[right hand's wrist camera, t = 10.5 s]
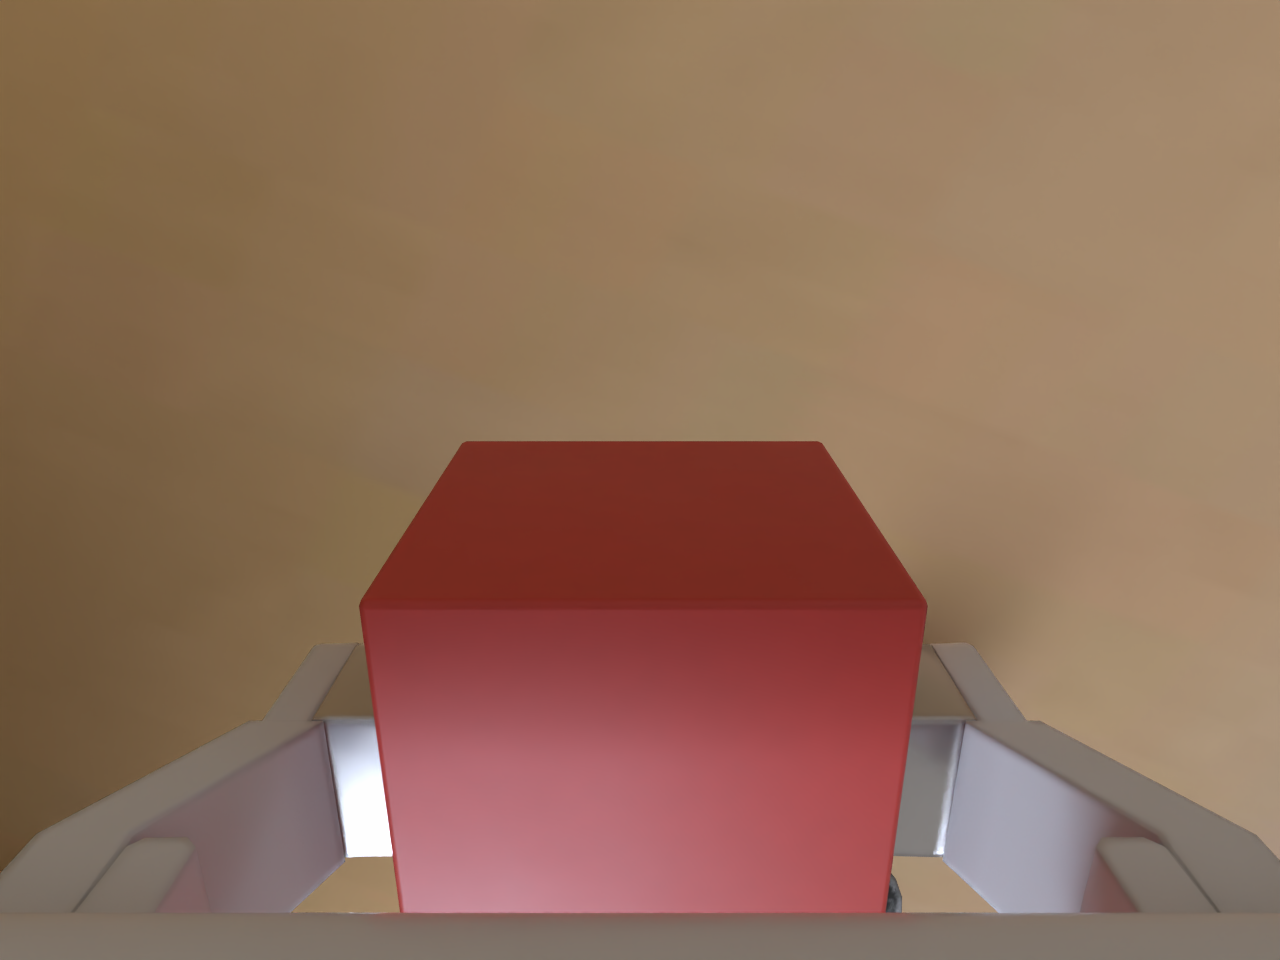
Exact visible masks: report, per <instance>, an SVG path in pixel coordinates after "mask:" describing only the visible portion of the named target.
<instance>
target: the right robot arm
mask: <svg viewBox="0 0 1280 960" xmlns="http://www.w3.org/2000/svg"><path fill="white" fill-rule="evenodd" d="M370 856H393V855H392V847H391V840H390V833H389V825H388V818H387V810H386V803H385V795H384V788H383V780H382V773H381V765H380V758H379V750H378V743H377V736H376V728H375V721H374V713H373V706H372V698H371V691H370V683H369V676H368V668H367V661H366V653H365V646H364V643H362V644H359V643H321V644H318V645H315V646H314V647H313V648H312V649H311V650H310V652H309V653H308V655H307V656H306V658H305V659H304V660H303V662H302V663H301V665H300V666H299V668H298V669H297V671H296V672H295V673H294V675H293V676H292V678H291V679H290V681H289V682H288V684H287V685H286V686H285V688H284V689H283V691H282V692H281V694H280V695H279V697H278V698H277V699H276V701H275V702H274V704H273V705H272V707H271V708H270V710H269V711H268V712H267V714H266V715H265V717H264V718H263V720H262V721H248V722H246V723H244V724H242V725H240V726H238V727H236V728H234V729H233V730H231V731H229V732H227V733H225V734H223V735H221V736H219V737H218V738H216V739H214V740H212V741H210V742H208V743H206V744H204V745H202V746H201V747H199V748H197V749H195V750H193V751H191V752H189V753H187V754H185V755H184V756H182V757H180V758H178V759H176V760H174V761H172V762H170V763H169V764H167V765H165V766H163V767H161V768H159V769H157V770H155V771H153V772H152V773H150V774H148V775H146V776H144V777H142V778H140V779H138V780H137V781H135V782H133V783H131V784H129V785H127V786H125V787H123V788H121V789H120V790H118V791H116V792H114V793H112V794H110V795H108V796H106V797H104V798H103V799H101V800H99V801H97V802H95V803H93V804H91V805H89V806H88V807H86V808H84V809H82V810H80V811H78V812H76V813H74V814H72V815H71V816H69V817H67V818H65V819H63V820H61V821H59V822H57V823H55V824H54V825H52V826H50V827H48V828H46V829H44V830H42V831H40V832H39V833H37V834H36V835H35V836H34V837H33V838H32V839H31V840H30V841H29V842H28V843H27V844H26V845H25V847H24V848H23V849H22V850H21V851H20V852H19V853H18V854H17V855H16V856H15V858H14V859H13V860H12V861H11V862H10V863H9V864H8V865H7V866H6V867H5V868H4V870H3V871H2V872H1V873H0V960H1280V860H1279V859H1278V858H1277V857H1276V856H1275V855H1274V854H1273V853H1272V851H1271V850H1270V849H1269V848H1268V847H1267V846H1266V845H1265V844H1264V843H1263V842H1262V841H1261V840H1260V839H1259V837H1258V836H1257V835H1255V834H1253V833H1252V832H1250V831H1248V830H1246V829H1244V828H1242V827H1240V826H1238V825H1236V824H1234V823H1233V822H1231V821H1229V820H1227V819H1225V818H1223V817H1221V816H1219V815H1217V814H1215V813H1214V812H1212V811H1210V810H1208V809H1206V808H1204V807H1202V806H1200V805H1198V804H1197V803H1195V802H1193V801H1191V800H1189V799H1187V798H1185V797H1183V796H1181V795H1179V794H1178V793H1176V792H1174V791H1172V790H1170V789H1168V788H1166V787H1164V786H1162V785H1161V784H1159V783H1157V782H1155V781H1153V780H1151V779H1149V778H1147V777H1145V776H1143V775H1142V774H1140V773H1138V772H1136V771H1134V770H1132V769H1130V768H1128V767H1126V766H1124V765H1123V764H1121V763H1119V762H1117V761H1115V760H1113V759H1111V758H1109V757H1107V756H1106V755H1104V754H1102V753H1100V752H1098V751H1096V750H1094V749H1092V748H1090V747H1088V746H1087V745H1085V744H1083V743H1081V742H1079V741H1077V740H1075V739H1073V738H1071V737H1069V736H1068V735H1066V734H1064V733H1062V732H1060V731H1058V730H1056V729H1054V728H1052V727H1051V726H1049V725H1047V724H1045V723H1043V722H1041V721H1027V720H1026V719H1025V717H1024V716H1023V715H1022V713H1021V712H1020V710H1019V709H1018V708H1017V706H1016V705H1015V703H1014V702H1013V701H1012V699H1011V698H1010V696H1009V695H1008V694H1007V692H1006V691H1005V689H1004V688H1003V687H1002V685H1001V684H1000V682H999V681H998V680H997V678H996V677H995V675H994V674H993V673H992V671H991V670H990V668H989V667H988V666H987V664H986V663H985V661H984V660H983V659H982V657H981V656H980V654H979V653H978V652H977V650H976V649H975V648H974V646H972V645H970V644H968V643H966V642H964V643H939V644H922V650H921V658H920V665H919V672H918V679H917V687H916V694H915V701H914V709H913V716H912V723H911V730H910V738H909V745H908V752H907V760H906V767H905V774H904V781H903V789H902V796H901V803H900V811H899V818H898V825H897V832H896V840H895V847H894V854H893V856H917V857H943V861H944V862H945V863H946V864H947V865H948V866H949V867H950V868H951V869H952V870H953V871H954V872H955V873H957V874H958V875H959V876H960V877H961V878H962V879H963V880H964V881H965V882H966V883H967V884H968V885H969V886H971V887H972V888H973V889H974V890H975V891H976V892H977V893H978V894H979V895H980V896H981V897H982V898H983V899H985V900H986V901H987V902H988V903H989V904H990V905H991V906H992V907H993V908H994V909H995V910H996V911H997V912H999V913H290V912H291V911H293V910H294V909H295V908H296V907H297V906H298V905H299V904H300V903H301V902H302V901H303V900H304V899H305V898H306V897H308V896H309V895H310V894H311V893H312V892H313V891H314V890H315V889H316V888H317V887H318V886H319V885H320V884H321V883H323V882H324V881H325V880H326V879H327V878H328V877H329V876H330V875H331V874H332V873H333V872H334V871H335V870H336V869H338V868H339V867H340V866H341V865H342V864H343V863H344V862H345V857H370Z"/></svg>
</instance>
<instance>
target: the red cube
mask: <svg viewBox="0 0 1280 960" xmlns="http://www.w3.org/2000/svg"><path fill="white" fill-rule="evenodd" d="M927 607H928V606H927V603H926V600H925V598H924V597H923V595H922V594H921V592H920V591H919V589H918V588H917V586H916V585H915V583H914V582H913V580H912V579H911V577H910V576H909V574H908V573H907V571H906V570H905V568H904V567H903V565H902V564H901V562H900V561H899V559H898V558H897V556H896V555H895V553H894V552H893V550H892V548H891V547H890V545H889V544H888V542H887V541H886V539H885V538H884V536H883V535H882V533H881V532H880V530H879V529H878V527H877V526H876V524H875V523H874V521H873V520H872V518H871V517H870V515H869V514H868V512H867V511H866V509H865V508H864V506H863V505H862V503H861V502H860V500H859V499H858V497H857V495H856V494H855V492H854V491H853V489H852V488H851V486H850V485H849V483H848V482H847V480H846V479H845V477H844V476H843V474H842V473H841V471H840V470H839V468H838V467H837V465H836V464H835V462H834V461H833V459H832V458H831V456H830V455H829V453H828V452H827V450H826V449H825V447H824V446H823V444H822V443H820V442H818V441H466V442H464V443H462V444H461V446H460V448H459V449H458V451H457V452H456V454H455V455H454V457H453V458H452V460H451V462H450V463H449V465H448V466H447V468H446V469H445V471H444V472H443V474H442V475H441V477H440V479H439V480H438V482H437V483H436V485H435V486H434V488H433V489H432V491H431V493H430V494H429V496H428V497H427V499H426V500H425V502H424V503H423V505H422V507H421V508H420V510H419V511H418V513H417V514H416V516H415V517H414V519H413V520H412V522H411V524H410V525H409V527H408V528H407V530H406V531H405V533H404V534H403V536H402V538H401V539H400V541H399V542H398V544H397V545H396V547H395V548H394V550H393V551H392V553H391V555H390V556H389V558H388V559H387V561H386V562H385V564H384V565H383V567H382V569H381V570H380V572H379V573H378V575H377V576H376V578H375V579H374V581H373V582H372V584H371V586H370V587H369V589H368V590H367V592H366V593H365V595H364V596H363V598H362V600H361V602H360V605H359V609H360V616H361V624H362V631H363V639H364V646H365V653H366V661H367V668H368V676H369V683H370V691H371V698H372V706H373V713H374V721H375V728H376V736H377V743H378V750H379V758H380V765H381V773H382V780H383V788H384V795H385V803H386V810H387V818H388V825H389V833H390V840H391V847H392V855H393V862H394V870H395V877H396V885H397V892H398V900H399V907H400V913H886V905H887V898H888V891H889V883H890V876H891V869H892V862H893V854H894V847H895V840H896V832H897V825H898V818H899V811H900V803H901V796H902V789H903V781H904V774H905V767H906V760H907V752H908V745H909V738H910V730H911V723H912V716H913V709H914V701H915V694H916V687H917V679H918V672H919V665H920V658H921V650H922V643H923V636H924V628H925V621H926V614H927Z"/></svg>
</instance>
